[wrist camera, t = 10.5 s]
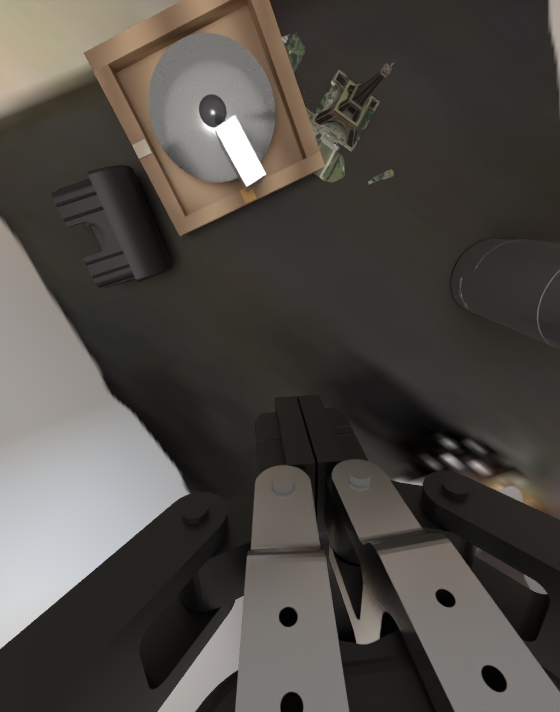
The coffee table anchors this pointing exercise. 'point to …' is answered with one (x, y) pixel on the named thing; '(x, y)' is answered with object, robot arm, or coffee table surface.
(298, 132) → the wooden square tray
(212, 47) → the dial
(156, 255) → the end cap
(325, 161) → the eiffel tower figurine
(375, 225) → the coffee table surface
